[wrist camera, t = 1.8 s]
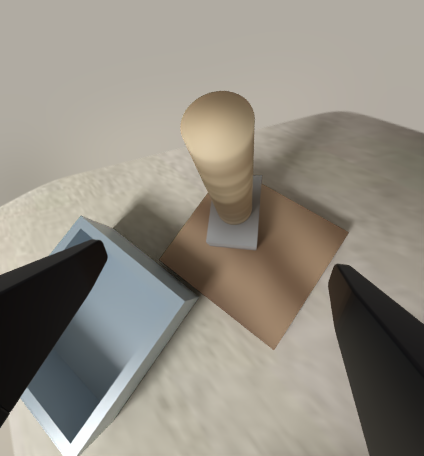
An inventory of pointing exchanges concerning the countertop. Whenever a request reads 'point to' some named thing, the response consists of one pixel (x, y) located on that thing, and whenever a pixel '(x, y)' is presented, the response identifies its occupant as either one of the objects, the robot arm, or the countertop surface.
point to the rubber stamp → (225, 166)
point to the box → (105, 341)
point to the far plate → (258, 264)
